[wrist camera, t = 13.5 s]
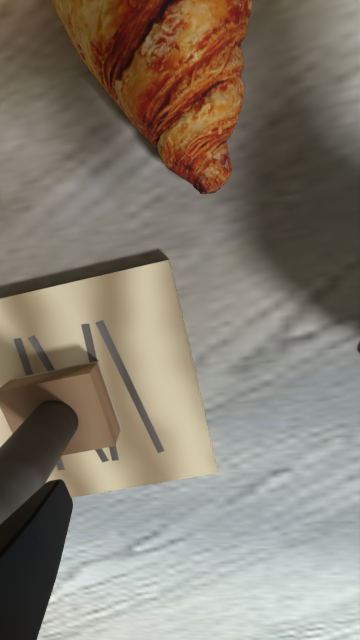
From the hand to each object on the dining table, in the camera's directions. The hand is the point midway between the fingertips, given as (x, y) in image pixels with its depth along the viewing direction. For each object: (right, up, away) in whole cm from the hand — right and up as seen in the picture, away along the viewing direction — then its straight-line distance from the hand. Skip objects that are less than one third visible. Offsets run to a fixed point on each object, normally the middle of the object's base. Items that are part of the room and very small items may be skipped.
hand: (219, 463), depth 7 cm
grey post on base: (-10, -3, +13) cm, 17 cm away
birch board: (-12, -3, +14) cm, 19 cm away
